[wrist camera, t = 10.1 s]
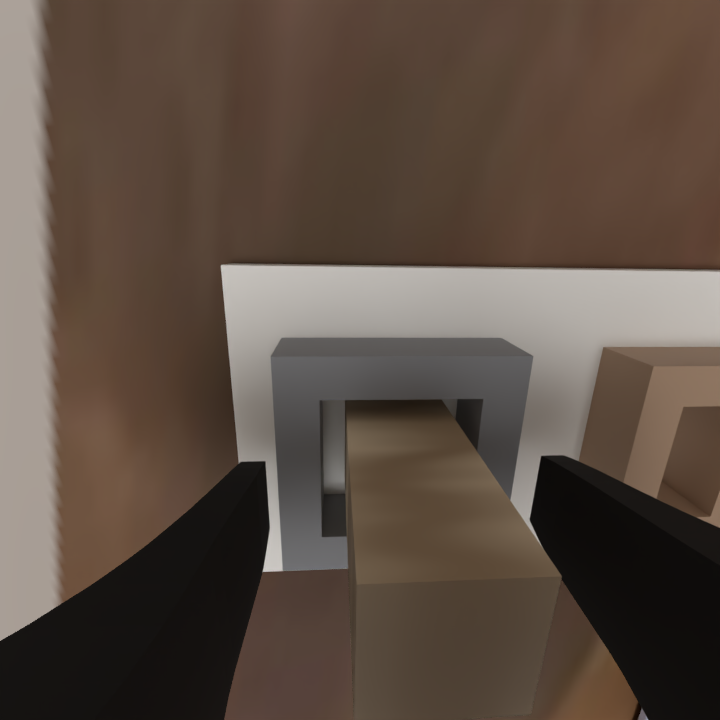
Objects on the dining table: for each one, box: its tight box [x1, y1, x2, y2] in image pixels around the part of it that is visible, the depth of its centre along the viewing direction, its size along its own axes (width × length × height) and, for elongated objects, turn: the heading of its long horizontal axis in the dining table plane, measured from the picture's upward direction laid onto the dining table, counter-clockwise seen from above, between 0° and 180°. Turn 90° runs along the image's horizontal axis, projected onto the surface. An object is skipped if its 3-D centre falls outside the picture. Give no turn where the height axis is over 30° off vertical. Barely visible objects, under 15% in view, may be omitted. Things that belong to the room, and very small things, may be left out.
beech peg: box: [345, 399, 562, 720], centre depth 9 cm, size 3×3×7 cm
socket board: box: [221, 263, 720, 572], centre depth 12 cm, size 19×11×3 cm, turn 89°
